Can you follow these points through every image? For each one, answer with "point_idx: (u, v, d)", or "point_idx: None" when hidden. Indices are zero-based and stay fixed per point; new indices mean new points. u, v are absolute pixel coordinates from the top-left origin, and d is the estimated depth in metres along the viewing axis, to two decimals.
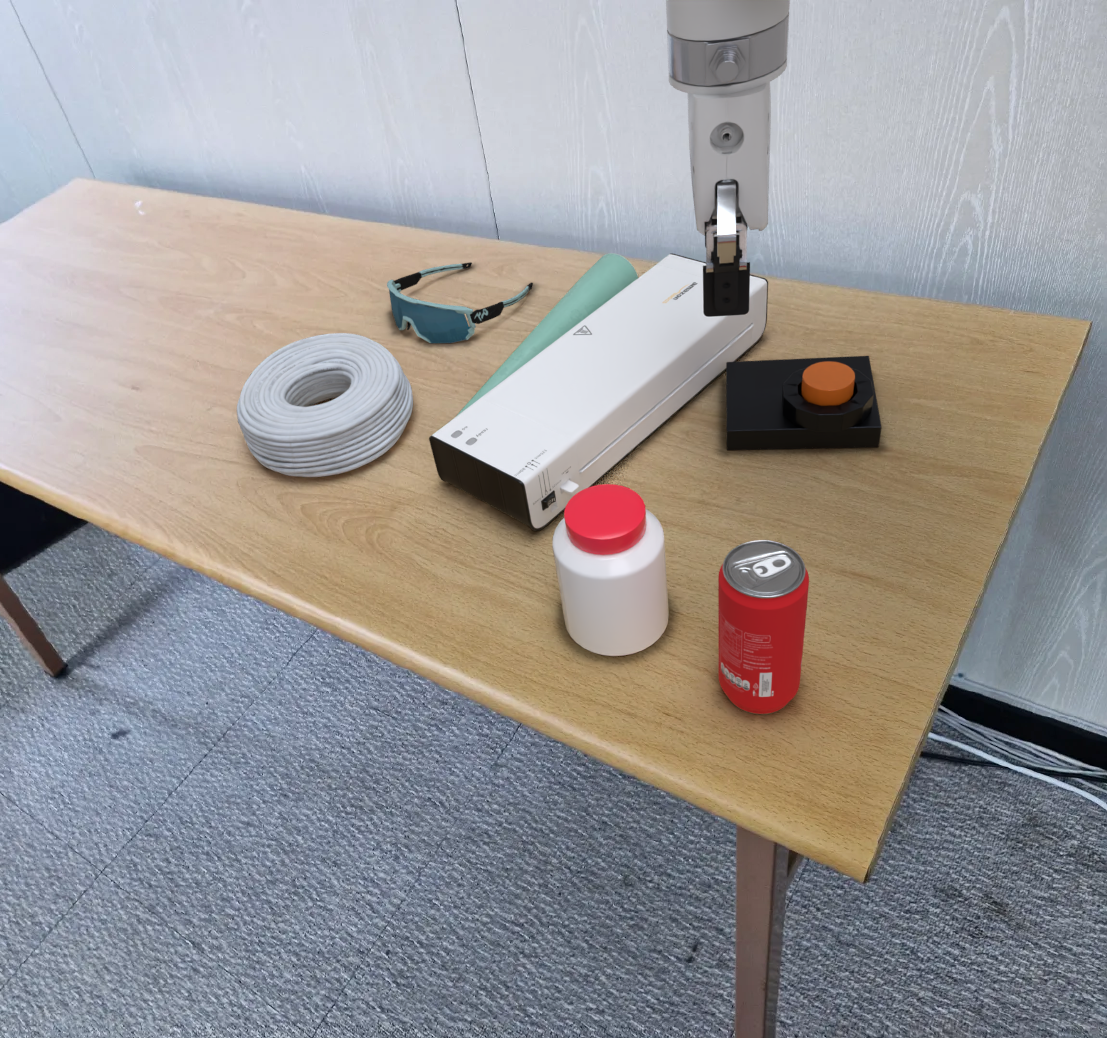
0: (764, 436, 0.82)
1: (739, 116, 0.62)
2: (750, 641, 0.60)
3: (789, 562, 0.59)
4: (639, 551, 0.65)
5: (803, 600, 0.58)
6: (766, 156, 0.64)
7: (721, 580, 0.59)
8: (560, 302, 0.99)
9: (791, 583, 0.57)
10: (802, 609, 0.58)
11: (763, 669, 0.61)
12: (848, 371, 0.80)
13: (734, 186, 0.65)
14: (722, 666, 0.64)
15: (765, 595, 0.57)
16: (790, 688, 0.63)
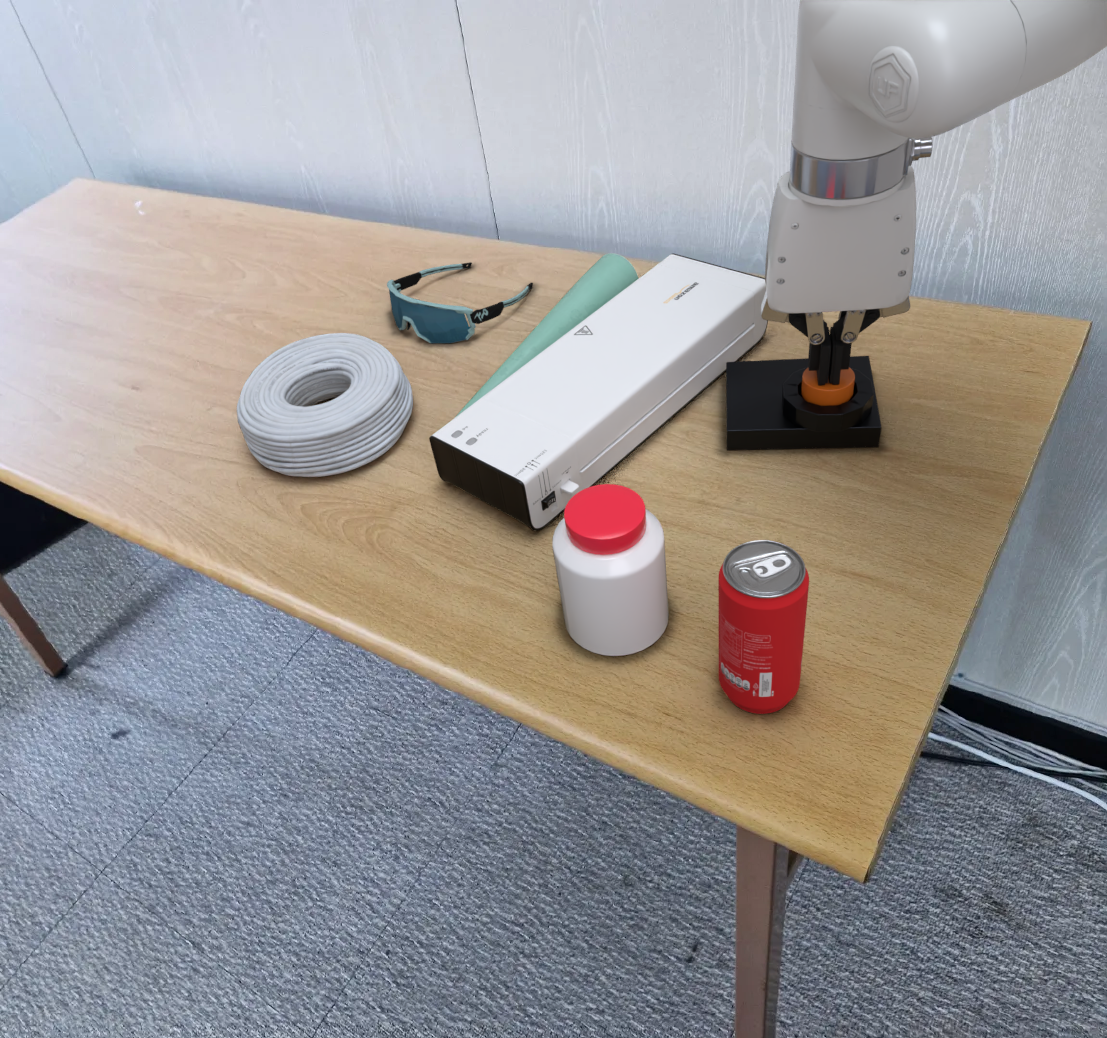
0: (764, 436, 0.82)
1: None
2: (751, 641, 0.60)
3: (789, 562, 0.59)
4: (639, 551, 0.65)
5: (803, 600, 0.58)
6: None
7: (721, 580, 0.59)
8: (560, 302, 0.99)
9: (791, 583, 0.57)
10: (802, 609, 0.58)
11: (764, 669, 0.61)
12: (848, 371, 0.80)
13: None
14: (722, 666, 0.64)
15: (765, 595, 0.57)
16: (790, 688, 0.63)
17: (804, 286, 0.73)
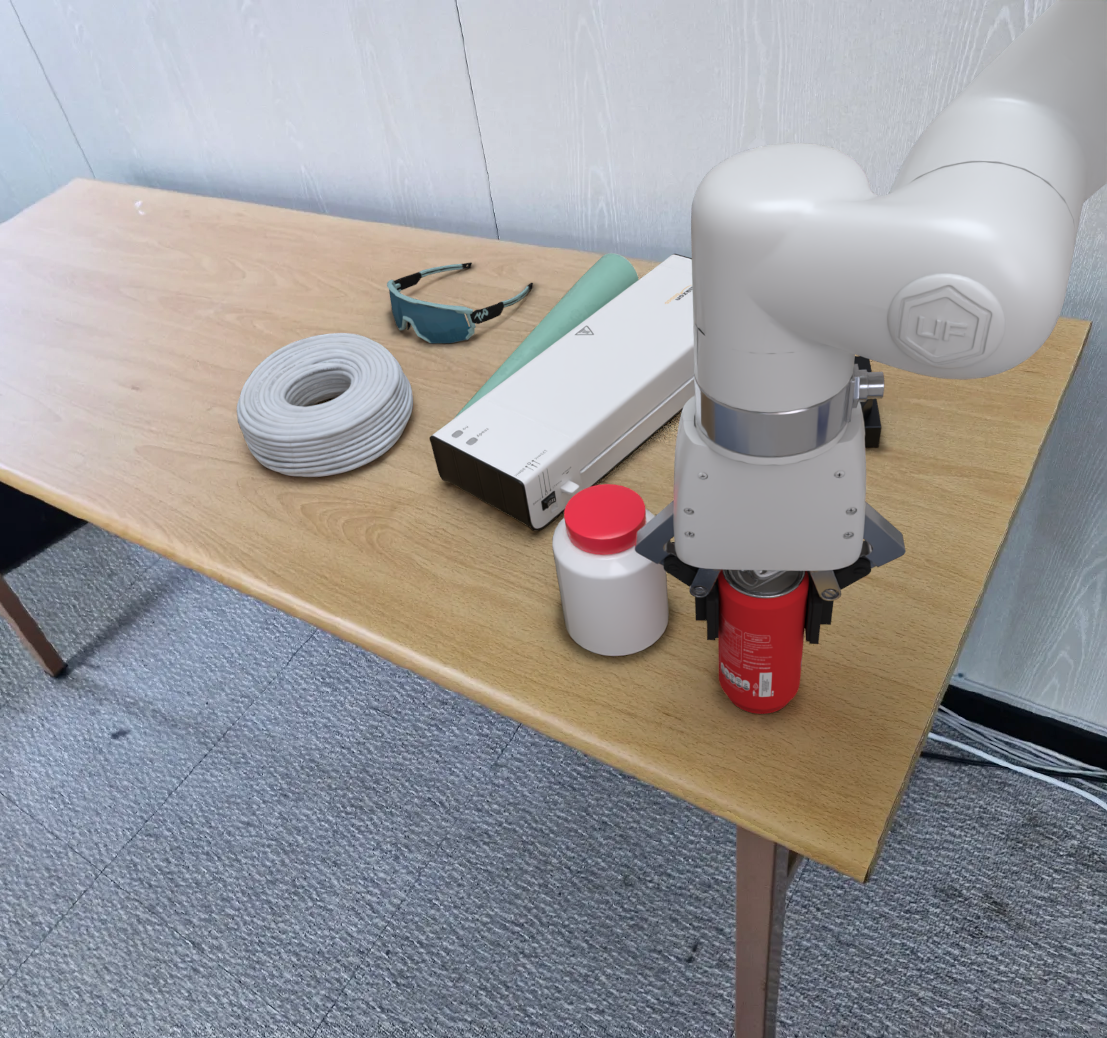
0: None
1: None
2: (750, 641, 0.60)
3: None
4: None
5: (803, 600, 0.58)
6: None
7: (721, 580, 0.59)
8: (560, 302, 0.99)
9: (791, 583, 0.57)
10: (802, 609, 0.58)
11: (763, 669, 0.61)
12: None
13: None
14: (722, 666, 0.64)
15: (765, 595, 0.57)
16: (790, 688, 0.63)
17: (720, 542, 0.55)
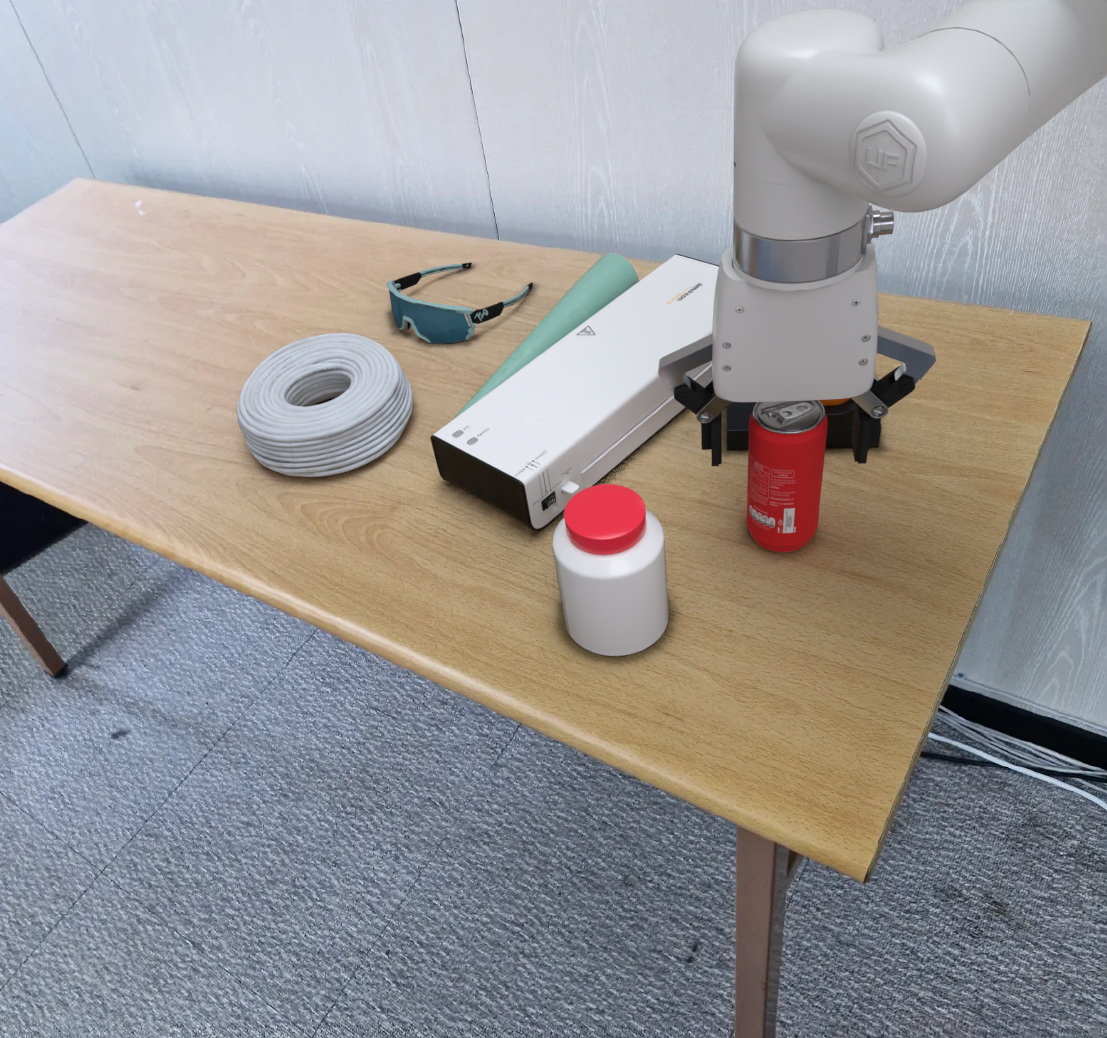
0: None
1: None
2: (777, 477, 0.69)
3: (811, 406, 0.68)
4: (639, 551, 0.65)
5: (823, 438, 0.68)
6: None
7: (752, 424, 0.69)
8: (560, 302, 0.99)
9: (813, 422, 0.67)
10: (822, 447, 0.68)
11: (788, 505, 0.71)
12: None
13: (879, 326, 0.63)
14: (750, 508, 0.74)
15: (790, 432, 0.67)
16: (810, 525, 0.73)
17: (753, 374, 0.64)
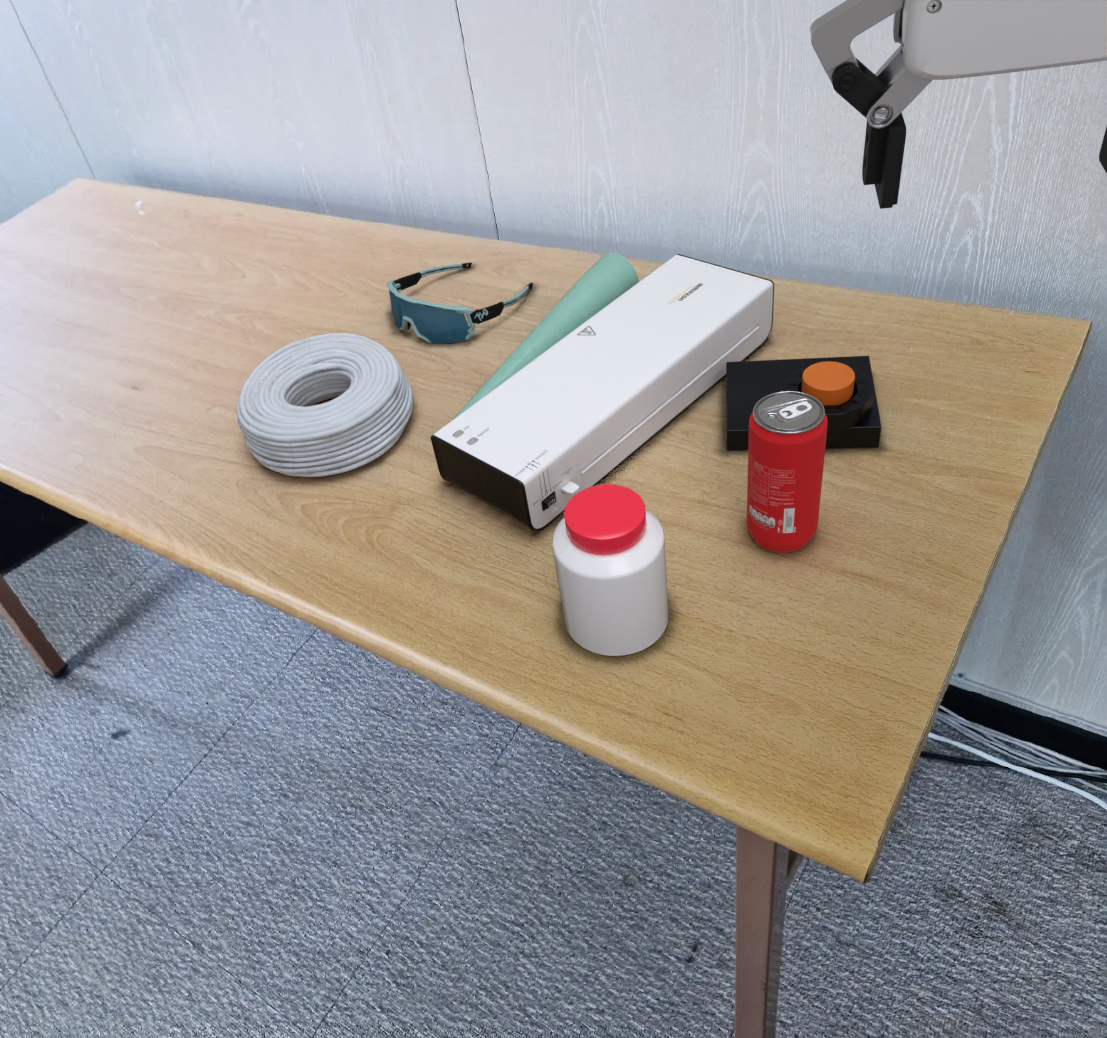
0: None
1: None
2: (777, 477, 0.69)
3: (811, 406, 0.68)
4: (639, 551, 0.65)
5: (822, 438, 0.68)
6: None
7: (752, 424, 0.69)
8: (560, 302, 0.99)
9: (812, 422, 0.67)
10: (821, 447, 0.68)
11: (788, 505, 0.71)
12: (848, 370, 0.80)
13: None
14: (750, 508, 0.74)
15: (790, 432, 0.67)
16: (810, 525, 0.73)
17: (979, 14, 0.40)
